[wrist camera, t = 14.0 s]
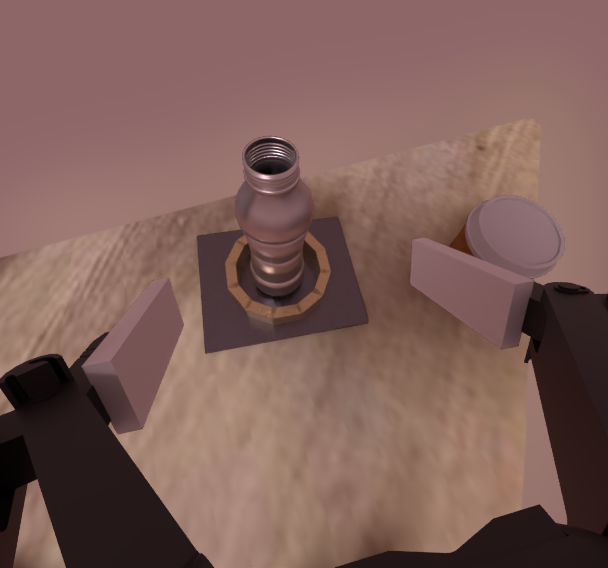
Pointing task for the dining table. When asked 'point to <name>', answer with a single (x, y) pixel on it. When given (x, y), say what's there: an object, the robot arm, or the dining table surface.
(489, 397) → the dining table surface
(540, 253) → the disposable coffee cup
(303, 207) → the plastic bottle
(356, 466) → the dining table surface
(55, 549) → the dining table surface
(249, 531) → the dining table surface
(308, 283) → the collar stand
